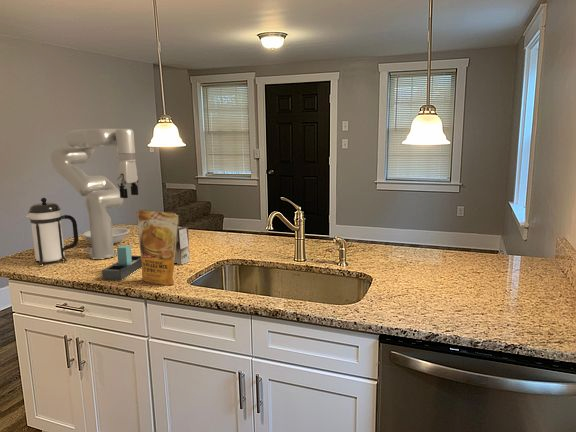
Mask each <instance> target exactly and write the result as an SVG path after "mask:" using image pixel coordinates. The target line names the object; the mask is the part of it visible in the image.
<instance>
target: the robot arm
mask: <svg viewBox="0 0 576 432" xmlns="http://www.w3.org/2000/svg"><path fill="white" fill-rule="evenodd" d="M134 132H135V131H134V130H133V129H132V128H84V129H80V128H79V129H73V130H70V131H69V132H67V133H66V135H65V142H66V144H67V145H68V146H61V147H58V148H55V149H53V150H52V151H51V153H50V156H49V157H50V163H51V165H52V167H53V169H54V170H55V172H56V173H58V174H59V175H60V176H61V177H62V178H63V179H64V180H65V181H67V183H68V184H69V185H70V186H71V187H72V188H73V189H74V191H75V192H76V193H77V194H78V195H79V196H81V197H85V198H84V204H85V208H86V212H87V214H88V222H89V231H90V233H91V242H90V243H91V247H86V248H85V250H84V252H85V253H90V254H89V256H88V258H89V257H90V258H95V259H101V258H109V257H113V256H115V255H117V250H114V249H115V248H114V244H113V236H112V228H113V226H112V219H111V216H110V215H109V214H108V212H107V210H112V209H113V210H114V209H118V208H120V207H121V206H122V205H123V204H124V199H127V198H129V196H128V189H127V187H128V185H129V184H130V185H131V186H130V194H131V196H138V195H139V178H140V177H139V175H138V168H137V163H136V146H135V133H134ZM97 147H116V157H117V158H116V159H117V163H116V178H117V179H116V182H117V186H118V187H116V186H115V184H114V183H112V181H111V180H110V179H108V177H106V176H104V175H88V174H86V173H85V172H84V171H83V169H82V168H80V167H78V166H76V165H80V164H81V165H83V164H86V163H87V162H88V161H90V159H91V158H92V156H93V154H94V152H95V150H96V149H97ZM117 256H118V255H117ZM90 258H89V259H90ZM113 258H114V257H113ZM109 259H110V258H109Z"/></svg>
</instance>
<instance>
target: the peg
mask: <svg viewBox="0 0 576 432" xmlns="http://www.w3.org/2000/svg"><path fill="white" fill-rule="evenodd" d="M116 252H117V261H118V265H128V264H129V263H131V262H132V256H133V255H132V247H131V245H126V244H125V245H119V246H118V247H116Z"/></svg>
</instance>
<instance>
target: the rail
mask: <svg viewBox="0 0 576 432" xmlns="http://www.w3.org/2000/svg"><path fill="white" fill-rule="evenodd" d="M131 256H132V262H131V263H129V264H128V265H118V260H117V261H116V262H114V263H112V264H111V265H109V266H107V267H106V268H104V269H102V270H101V273H102V274H101V276H102V280H103V279H105V280H104V281H123V280H124V278H125V277H126V278H127V276H128V275H129V276H130V274H131V273H132V274H134V273H135V272H134V271H136V270H137V269H139V268H140V269H142V268H141V267H142V261H141V255H131ZM140 269H139V270H140ZM137 271H138V270H137ZM137 271H136V272H137ZM133 272H134V273H133ZM132 274H131V275H132ZM129 276H128V277H129ZM126 278H125V279H126ZM122 279H123V280H122Z"/></svg>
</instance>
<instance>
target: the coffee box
mask: <svg viewBox="0 0 576 432" xmlns="http://www.w3.org/2000/svg"><path fill="white" fill-rule="evenodd" d="M189 236H190V235H189V227H187V226H179V225H178V232H177V243H176V252H175V261H174V263H177V264H176V265H179V264H183V265H185V264H184V263H186V264H188V263H190V262H191V256H190V255H191V252H190V238H189ZM189 261H190V262H189ZM187 262H188V263H187Z"/></svg>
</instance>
